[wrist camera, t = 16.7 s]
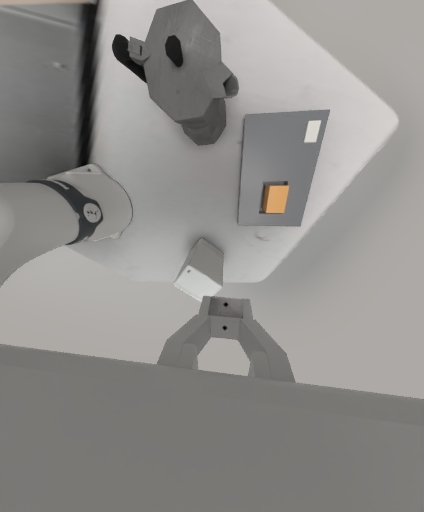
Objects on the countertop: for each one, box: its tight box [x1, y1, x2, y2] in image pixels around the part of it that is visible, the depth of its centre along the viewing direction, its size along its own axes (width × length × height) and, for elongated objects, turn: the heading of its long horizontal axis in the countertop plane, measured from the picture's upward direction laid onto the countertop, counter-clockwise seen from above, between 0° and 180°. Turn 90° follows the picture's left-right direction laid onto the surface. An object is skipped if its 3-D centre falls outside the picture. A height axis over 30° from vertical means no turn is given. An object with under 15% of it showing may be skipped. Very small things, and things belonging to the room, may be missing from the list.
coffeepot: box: [112, 0, 239, 146], centre depth 22 cm, size 15×9×18 cm, turn 73°
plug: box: [262, 185, 289, 213], centre depth 32 cm, size 4×5×6 cm
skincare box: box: [173, 238, 224, 303], centre depth 36 cm, size 8×7×16 cm
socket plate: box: [238, 110, 330, 226], centre depth 31 cm, size 14×20×4 cm
